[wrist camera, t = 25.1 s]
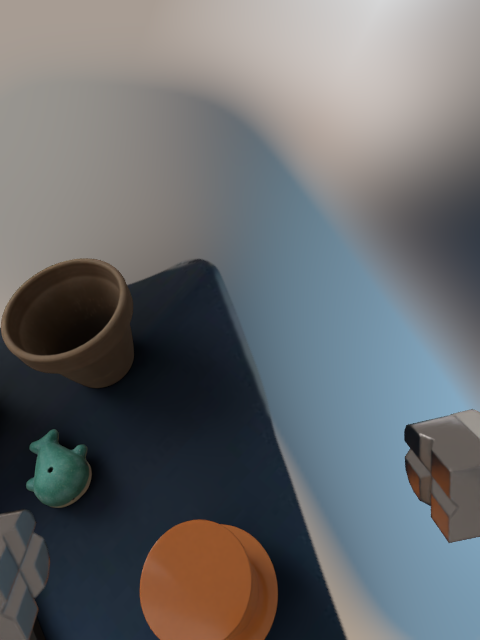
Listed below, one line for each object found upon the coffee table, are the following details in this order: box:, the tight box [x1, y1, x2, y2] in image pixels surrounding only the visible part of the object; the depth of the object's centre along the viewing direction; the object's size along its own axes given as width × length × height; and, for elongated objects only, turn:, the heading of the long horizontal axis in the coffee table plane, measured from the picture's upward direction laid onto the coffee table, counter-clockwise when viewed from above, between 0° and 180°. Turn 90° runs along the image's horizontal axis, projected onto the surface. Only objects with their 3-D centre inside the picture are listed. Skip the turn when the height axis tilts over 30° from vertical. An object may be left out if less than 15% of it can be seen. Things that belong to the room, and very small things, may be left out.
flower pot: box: [1, 259, 134, 388], centre depth 43 cm, size 12×11×10 cm
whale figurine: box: [26, 429, 92, 508], centre depth 39 cm, size 6×7×4 cm
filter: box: [140, 520, 278, 640], centre depth 29 cm, size 9×9×10 cm
